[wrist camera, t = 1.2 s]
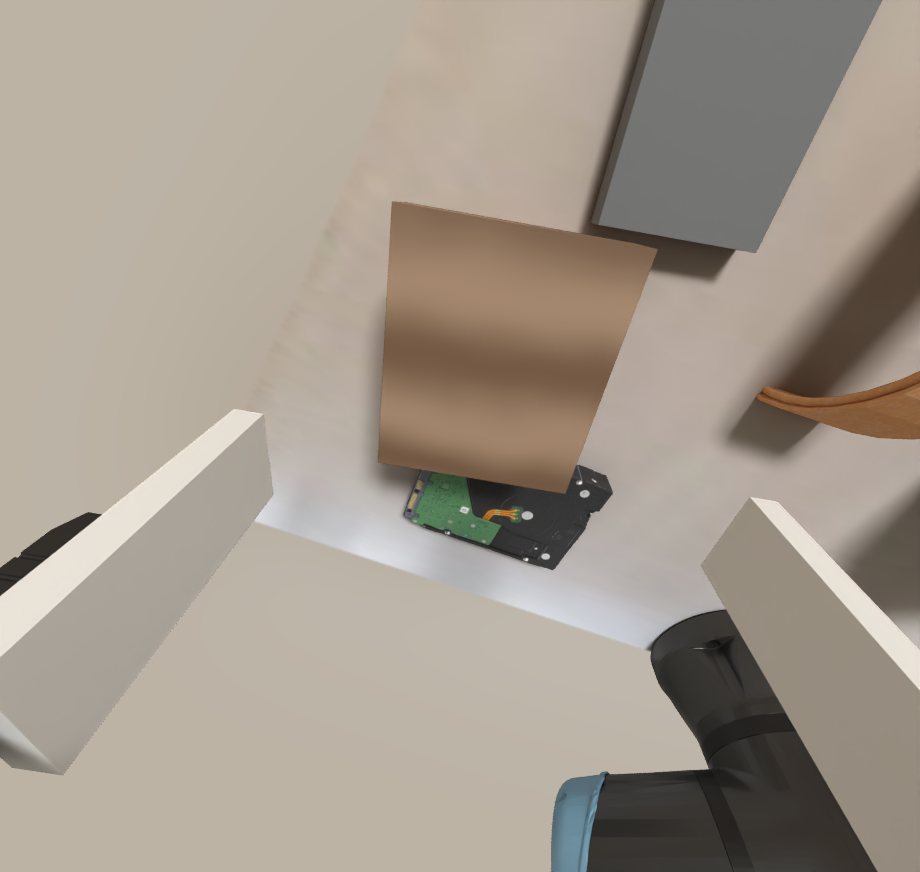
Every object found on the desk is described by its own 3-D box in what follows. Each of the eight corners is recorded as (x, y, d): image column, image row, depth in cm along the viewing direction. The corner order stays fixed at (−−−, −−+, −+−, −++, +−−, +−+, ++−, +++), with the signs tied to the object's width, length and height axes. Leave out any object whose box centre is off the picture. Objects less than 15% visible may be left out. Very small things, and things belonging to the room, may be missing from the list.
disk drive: (606, 469, 33) (442, 411, 31) (616, 490, 30) (438, 428, 29) (550, 549, 38) (406, 503, 36) (555, 572, 36) (400, 524, 34)
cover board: (557, 464, 25) (565, 493, 22) (389, 435, 25) (377, 462, 22) (634, 243, 18) (657, 249, 16) (406, 202, 18) (391, 201, 16)
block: (736, 249, 23) (755, 253, 22) (590, 223, 23) (598, 224, 22) (947, -196, 15) (1006, -248, 13) (724, -241, 15) (753, -299, 13)
